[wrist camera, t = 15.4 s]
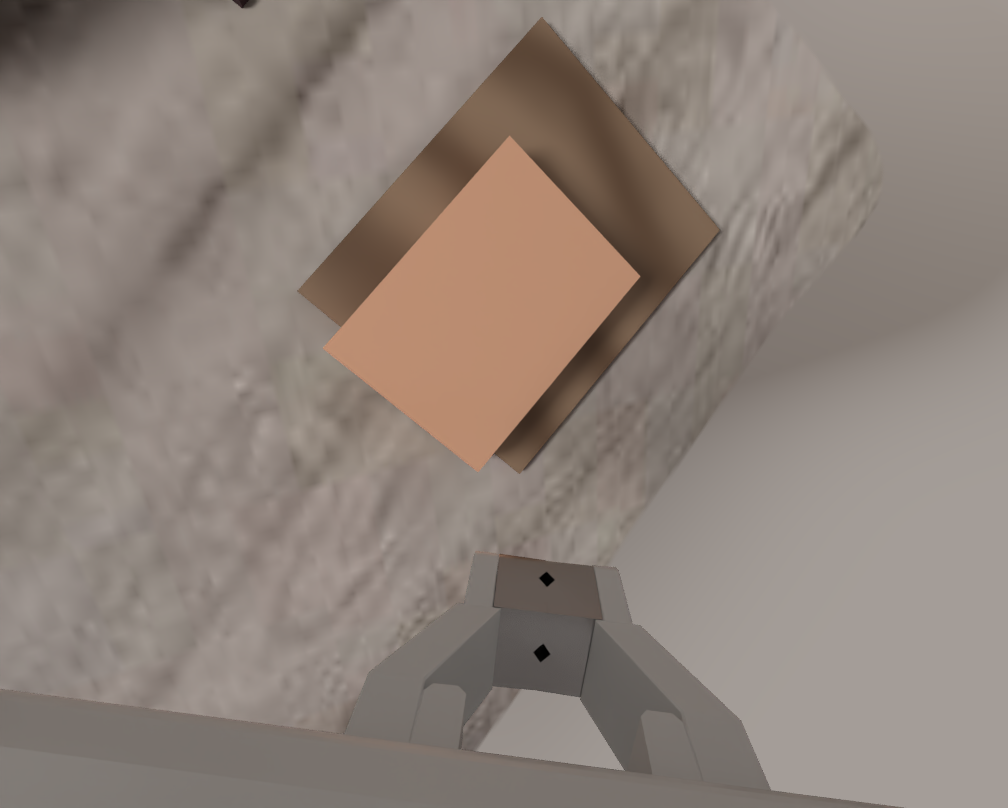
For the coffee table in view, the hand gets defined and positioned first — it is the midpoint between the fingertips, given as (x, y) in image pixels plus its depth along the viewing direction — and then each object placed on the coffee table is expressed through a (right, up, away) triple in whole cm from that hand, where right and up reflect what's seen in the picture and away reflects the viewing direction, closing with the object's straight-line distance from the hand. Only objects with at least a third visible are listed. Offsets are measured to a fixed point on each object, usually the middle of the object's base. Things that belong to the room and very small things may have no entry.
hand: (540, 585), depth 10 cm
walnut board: (+1, +12, +18) cm, 22 cm away
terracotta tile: (-6, +4, +15) cm, 17 cm away
